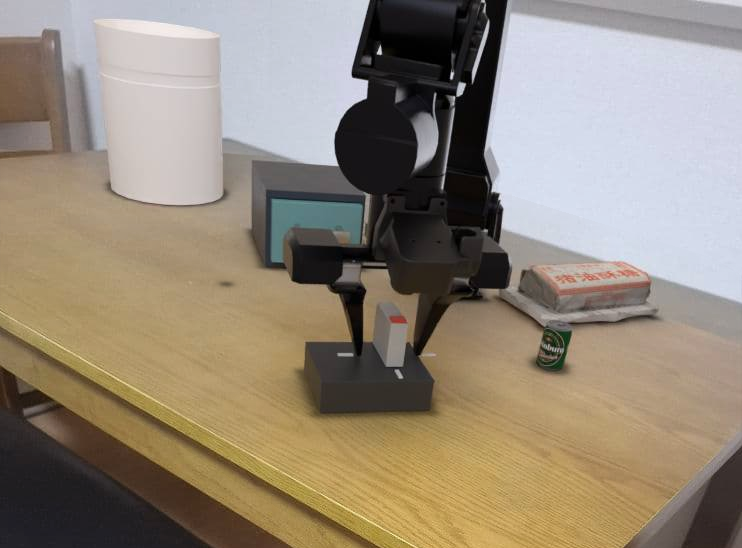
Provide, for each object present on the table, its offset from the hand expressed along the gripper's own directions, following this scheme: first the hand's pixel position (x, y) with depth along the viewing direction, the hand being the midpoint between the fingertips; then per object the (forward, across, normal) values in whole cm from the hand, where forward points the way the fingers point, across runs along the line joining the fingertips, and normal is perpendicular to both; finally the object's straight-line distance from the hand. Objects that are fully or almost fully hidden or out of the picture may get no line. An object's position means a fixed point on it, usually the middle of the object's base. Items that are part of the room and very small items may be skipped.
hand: (387, 354), depth 69 cm
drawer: (+2, -1, +34) cm, 34 cm away
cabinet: (+3, -1, +38) cm, 38 cm away
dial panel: (+3, -1, 0) cm, 3 cm away
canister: (+3, -17, +63) cm, 65 cm away
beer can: (+3, +19, +4) cm, 20 cm away
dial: (0, 0, 0) cm, 0 cm away
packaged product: (+3, +30, +20) cm, 36 cm away
